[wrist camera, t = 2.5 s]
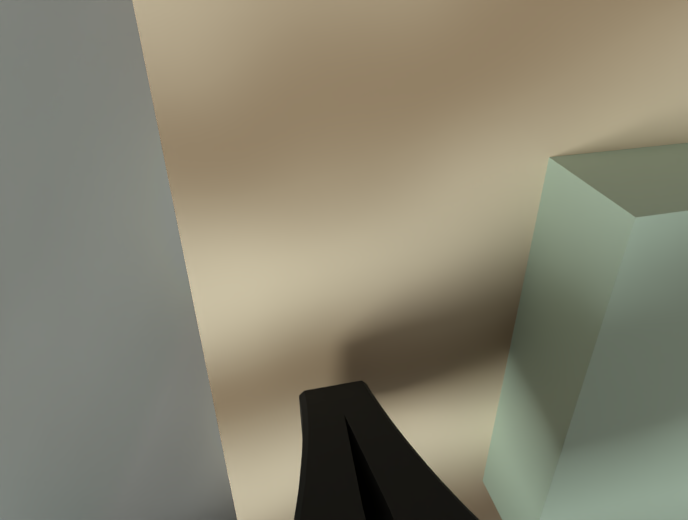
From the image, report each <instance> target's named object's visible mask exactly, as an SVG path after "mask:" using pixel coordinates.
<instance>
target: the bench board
mask: <svg viewBox="0 0 688 520" xmlns="http://www.w3.org/2000/svg"><path fill="white" fill-rule="evenodd" d="M132 1H133V6H134V11H135V16H136V21H137V25H138V30H139V35H140V40H141V45H142V50H143V55H144V60H145V65H146V70H147V75H148V80H149V85H150V90H151V95H152V100H153V105H154V110H155V115H156V120H157V125H158V130H159V135H160V139H161V144H162V149H163V154H164V159H165V164H166V169H167V174H168V179H169V184H170V189H171V194H172V199H173V204H174V209H175V214H176V219H177V224H178V229H179V234H180V239H181V244H182V249H183V253H184V258H185V263H186V268H187V273H188V278H189V283H190V288H191V293H192V298H193V303H194V308H195V313H196V318H197V323H198V328H199V333H200V338H201V343H202V348H203V353H204V358H205V363H206V367H207V372H208V377H209V382H210V387H211V392H212V397H213V402H214V407H215V412H216V417H217V422H218V427H219V432H220V437H221V442H222V447H223V452H224V457H225V462H226V467H227V472H228V477H229V481H230V486H231V491H232V496H233V501H234V506H235V511H236V516H237V520H294V515H295V509H296V502H297V496H298V489H299V479H300V468H301V457H302V428H301V416H300V404H299V395H300V394H301V393H302V392H303V391H305V390H310V389H316V388H321V387H327V386H333V385H338V384H344V383H350V382H355V381H361V380H362V381H363V382H365V383H366V384H367V385H368V387H369V388H370V390H371V392H372V393H373V395H374V396H375V398H376V399H377V401H378V402H379V404H380V405H381V406H382V408H383V409H384V411H385V412H386V413H387V415H388V416H389V418H390V419H391V420H392V422H393V423H394V424H395V426H396V427H397V428H398V429H399V431H400V432H401V433H402V435H403V436H404V437H405V438H406V440H407V441H408V442H409V443H410V445H411V446H412V447H413V448H414V449H415V451H416V452H417V453H418V454H419V455H420V456H421V458H422V459H423V460H424V461H425V462H426V464H427V465H428V466H429V467H430V468H431V469H432V471H433V472H434V473H435V474H436V475H437V476H438V477H439V478H440V480H441V481H442V482H443V483H444V484H445V485H446V486H447V487H448V488H449V489H450V490H451V491H452V492H453V493H454V494H455V496H456V497H457V498H458V499H459V500H460V501H461V502H462V503H463V504H464V505H465V506H466V507H467V508H468V509H469V510H470V511H471V512H472V513H473V514H474V515H475V516H476V517H477V518H478V519H479V520H502V518H501V516H500V514H499V512H498V511H497V509H496V507H495V505H494V503H493V501H492V499H491V497H490V495H489V493H488V491H487V489H486V487H485V485H484V483H483V476H484V471H485V466H486V462H487V457H488V452H489V447H490V442H491V437H492V432H493V428H494V423H495V418H496V413H497V408H498V403H499V398H500V394H501V389H502V384H503V379H504V374H505V369H506V364H507V359H508V355H509V350H510V345H511V340H512V335H513V330H514V325H515V321H516V316H517V311H518V306H519V301H520V296H521V291H522V287H523V282H524V277H525V272H526V267H527V262H528V257H529V253H530V248H531V243H532V238H533V233H534V228H535V223H536V219H537V214H538V209H539V204H540V199H541V194H542V189H543V184H544V180H545V175H546V170H547V165H548V160H549V157H556V156H566V155H575V154H585V153H594V152H604V151H613V150H623V149H632V148H642V147H651V146H661V145H670V144H680V143H688V0H132Z"/></svg>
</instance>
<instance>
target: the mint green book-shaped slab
mask: <svg viewBox="0 0 688 520" xmlns="http://www.w3.org/2000/svg"><path fill="white" fill-rule="evenodd" d="M483 483H484V485H485V487H486V489H487V491H488V493H489V495H490V497H491V499H492V501H493V503H494V505H495V507H496V509H497V511H498V512H499V514H500V516H501V518H502V520H688V143H680V144H670V145H661V146H651V147H642V148H632V149H623V150H613V151H604V152H594V153H585V154H575V155H566V156H556V157H549V160H548V165H547V170H546V175H545V180H544V184H543V189H542V194H541V199H540V204H539V209H538V214H537V219H536V223H535V228H534V233H533V238H532V243H531V248H530V253H529V257H528V262H527V267H526V272H525V277H524V282H523V287H522V291H521V296H520V301H519V306H518V311H517V316H516V321H515V325H514V330H513V335H512V340H511V345H510V350H509V355H508V359H507V364H506V369H505V374H504V379H503V384H502V389H501V394H500V398H499V403H498V408H497V413H496V418H495V423H494V428H493V432H492V437H491V442H490V447H489V452H488V457H487V462H486V466H485V471H484V476H483Z"/></svg>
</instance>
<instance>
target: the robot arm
mask: <svg viewBox="0 0 688 520" xmlns="http://www.w3.org/2000/svg"><path fill="white" fill-rule="evenodd" d="M299 404H300V416H301V428H302V457H301V468H300V479H299V489H298V496H297V502H296V509H295V515H294V520H479V519H478V518H477V517H476V516H475V515H474V514H473V513H472V512H471V511H470V510H469V509H468V508H467V507H466V506H465V505H464V504H463V503H462V502H461V501H460V500H459V499H458V498H457V497H456V496H455V494H454V493H453V492H452V491H451V490H450V489H449V488H448V487H447V486H446V485H445V484H444V483H443V482H442V481H441V480H440V478H439V477H438V476H437V475H436V474H435V473H434V472H433V471H432V469H431V468H430V467H429V466H428V465H427V464H426V462H425V461H424V460H423V459H422V458H421V456H420V455H419V454H418V453H417V452H416V451H415V449H414V448H413V447H412V446H411V445H410V443H409V442H408V441H407V440H406V438H405V437H404V436H403V435H402V433H401V432H400V431H399V429H398V428H397V427H396V426H395V424H394V423H393V422H392V420H391V419H390V418H389V416H388V415H387V413H386V412H385V411H384V409H383V408H382V406H381V405H380V404H379V402H378V401H377V399H376V398H375V396H374V395H373V393H372V392H371V390H370V388H369V387H368V385H367V384H366V383H365V382H363V381H362V380H361V381H355V382H350V383H344V384H338V385H333V386H327V387H321V388H316V389H310V390H305V391H303V392H302V393H301V394H300V395H299Z"/></svg>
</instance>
